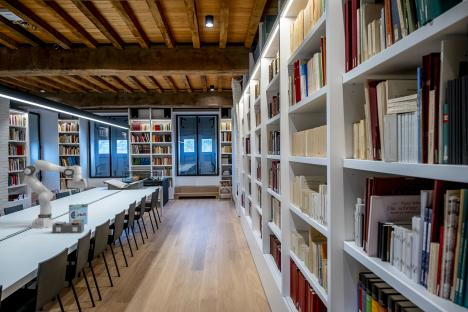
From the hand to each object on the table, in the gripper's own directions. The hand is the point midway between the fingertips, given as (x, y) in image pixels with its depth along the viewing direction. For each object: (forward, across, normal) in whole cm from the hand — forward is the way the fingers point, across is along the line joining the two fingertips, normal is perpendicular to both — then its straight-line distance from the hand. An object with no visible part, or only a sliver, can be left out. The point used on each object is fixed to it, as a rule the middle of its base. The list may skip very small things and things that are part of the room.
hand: (77, 191), depth 378 cm
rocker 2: (+29, +8, -26) cm, 40 cm away
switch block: (+39, 0, -26) cm, 47 cm away
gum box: (+39, -3, +16) cm, 43 cm away
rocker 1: (+29, -8, -26) cm, 40 cm away
